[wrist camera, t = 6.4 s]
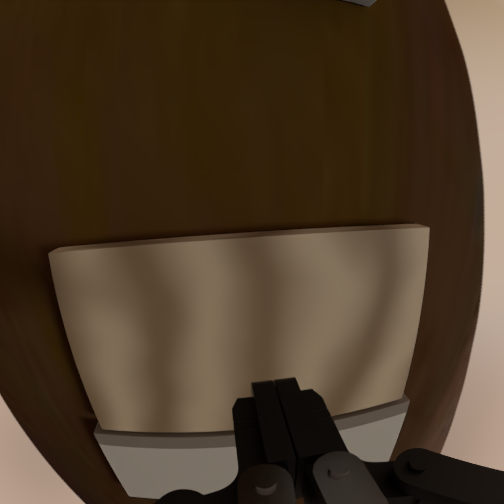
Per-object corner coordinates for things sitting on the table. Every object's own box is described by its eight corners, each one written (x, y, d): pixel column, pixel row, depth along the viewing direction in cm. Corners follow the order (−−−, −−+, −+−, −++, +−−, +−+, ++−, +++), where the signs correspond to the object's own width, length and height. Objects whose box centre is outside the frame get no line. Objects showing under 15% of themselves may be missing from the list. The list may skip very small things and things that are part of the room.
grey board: (131, 484, 23) (129, 496, 22) (98, 420, 21) (93, 433, 19) (379, 457, 26) (385, 467, 24) (401, 390, 23) (409, 400, 22)
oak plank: (106, 416, 21) (102, 429, 19) (59, 247, 17) (48, 253, 16) (393, 387, 23) (401, 398, 21) (416, 223, 20) (429, 227, 18)
